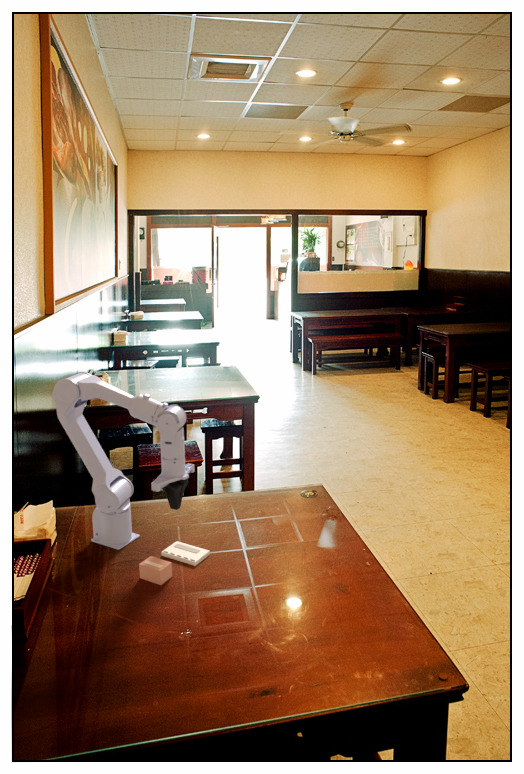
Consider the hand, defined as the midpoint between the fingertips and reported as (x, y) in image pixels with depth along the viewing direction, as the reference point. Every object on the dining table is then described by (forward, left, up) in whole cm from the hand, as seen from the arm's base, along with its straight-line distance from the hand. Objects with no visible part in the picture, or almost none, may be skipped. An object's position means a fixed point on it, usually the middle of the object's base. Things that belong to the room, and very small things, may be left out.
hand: (175, 508), depth 138 cm
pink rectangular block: (+5, -14, -10) cm, 18 cm away
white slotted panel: (+5, -3, -10) cm, 11 cm away
